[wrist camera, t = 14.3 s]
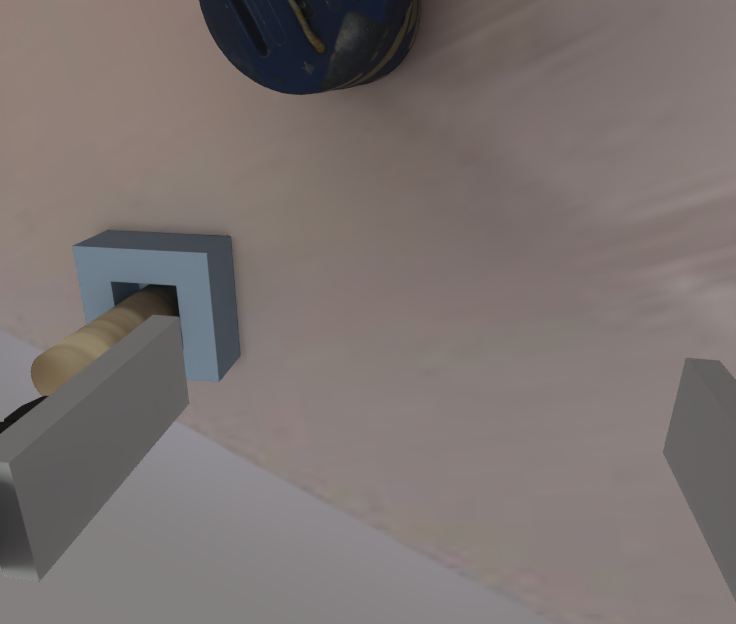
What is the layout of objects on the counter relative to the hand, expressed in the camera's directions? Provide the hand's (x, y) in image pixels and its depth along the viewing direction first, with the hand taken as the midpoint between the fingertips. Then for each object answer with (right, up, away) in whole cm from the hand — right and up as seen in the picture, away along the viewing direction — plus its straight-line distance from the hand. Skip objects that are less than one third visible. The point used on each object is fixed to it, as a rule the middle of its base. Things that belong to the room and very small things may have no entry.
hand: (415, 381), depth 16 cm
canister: (-2, +23, +27) cm, 35 cm away
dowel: (-18, +3, +36) cm, 40 cm away
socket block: (-18, +3, +37) cm, 41 cm away
